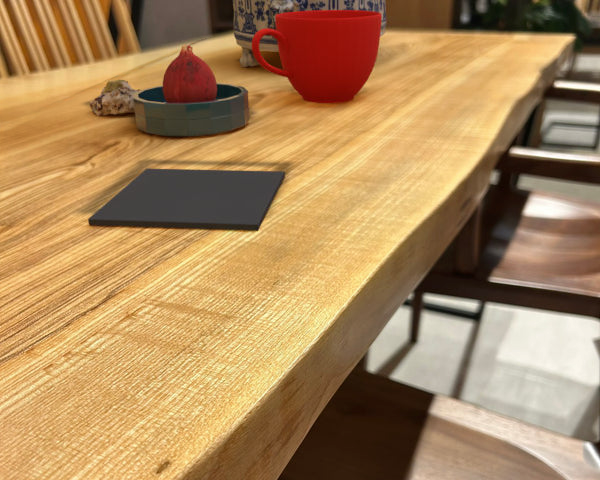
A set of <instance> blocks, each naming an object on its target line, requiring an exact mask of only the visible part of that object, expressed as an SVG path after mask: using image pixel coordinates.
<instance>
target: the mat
mask: <svg viewBox="0 0 600 480" xmlns="http://www.w3.org/2000/svg"><path fill="white" fill-rule="evenodd" d="M285 177H286V172H285V171H283V170H281V171H277V170H270V171H269V170H238V169H237V170H236V169H235V170H233V169H232V170H231V169H187V168H182V169H181V168H145V169H144V170H143V171H142V172H141V173H139V174H138V175H137V176H136V177H135V178H134V179H133V180H131V181H130V182H129V183H128V184H127V185H126V186H124V187H123V188H122V189H121V190H120V191H119V192H117V193H116V194H115V195H114V196H113V197H112V198H111V199H110V200H108V201H107V202H106V203H105V204H103V206H101V207H100V208H99V209H98V210H97V211H95V212H94V213H93V214H92V215H91V216H89V218H88V219H87V221H88V225H89V226H92V227H93V226H94V227H96V226H98V227H128V228H153V229H154V228H156V229H157V228H158V229H186V230H215V231H216V230H217V231H245V232H247V231H250V232H258V231H259V230H260V228H261V226H262V224H263V222H264V220H265V218H266V216H267V214H268V212H269V210H270V208H271V206H272V204H273V202H274V200H275V198H276V196H277V194H278V191H279V190H280V188H281V186H282V184H283V182H284V180H285Z"/></svg>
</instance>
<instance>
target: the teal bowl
mask: <svg viewBox="0 0 600 480" xmlns="http://www.w3.org/2000/svg"><path fill="white" fill-rule="evenodd" d="M216 83H217V95H216V99H215V100H213V101H206V102H192V103H167V101H166V100H165V97H164V93H163V84H162V85H157V86H151V87H146V88H142V89H139V90H140V91H138V92H136V93H134V94H133V102H134V109H135V112H134V116H135V123H136V129H137V130H139V131H142V132H144V133H147V134H149V135H157V136H163V137H172V138H173V137H174V138H189V137H190V138H191V137H203V136H204V137H206V136H213V135H218V134H223V133H228V132H230V131H234V130H236V129H239V128H241V127H244V126H246V125H247V124H248V123H249V121H250V106H249V90H247V89H246V87H244V86H241V85H237V84H233V83H224V82H216Z"/></svg>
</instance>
